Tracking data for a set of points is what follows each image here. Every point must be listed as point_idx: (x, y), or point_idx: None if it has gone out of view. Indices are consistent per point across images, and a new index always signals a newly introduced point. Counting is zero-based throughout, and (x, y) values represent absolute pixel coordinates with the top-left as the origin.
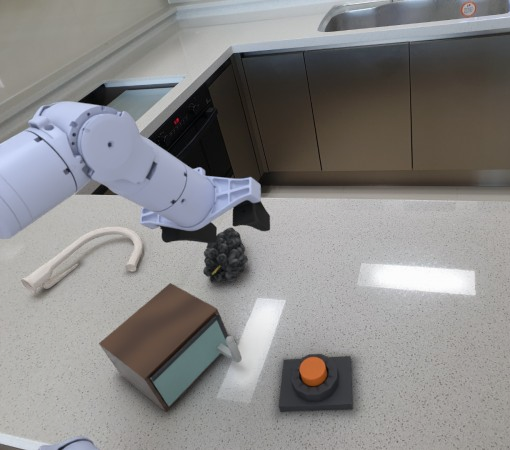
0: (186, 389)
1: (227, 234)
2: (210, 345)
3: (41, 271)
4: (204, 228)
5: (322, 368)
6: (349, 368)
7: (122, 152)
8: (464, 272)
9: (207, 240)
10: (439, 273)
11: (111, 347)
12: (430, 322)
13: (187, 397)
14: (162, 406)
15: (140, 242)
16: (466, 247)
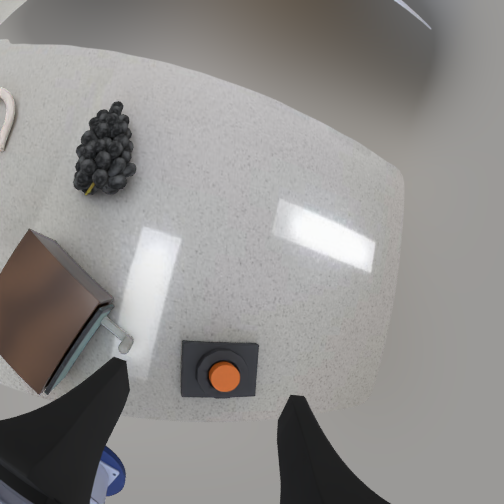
0: None
1: (112, 124)
2: (94, 328)
3: None
4: (106, 411)
5: (237, 380)
6: (256, 360)
7: None
8: (368, 242)
9: (117, 418)
10: (350, 237)
11: None
12: (333, 301)
13: (77, 362)
14: None
15: (12, 109)
16: (374, 209)
